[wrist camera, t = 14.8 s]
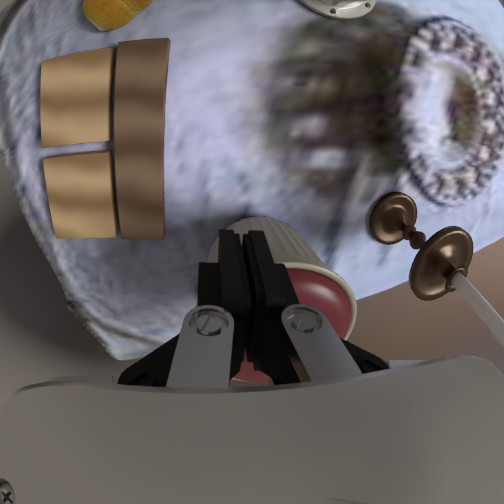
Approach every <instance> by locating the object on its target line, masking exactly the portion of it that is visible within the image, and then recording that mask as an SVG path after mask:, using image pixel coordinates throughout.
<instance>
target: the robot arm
mask: <svg viewBox="0 0 504 504" xmlns="http://www.w3.org/2000/svg"><path fill="white" fill-rule="evenodd" d="M299 1H301V2H302V3H303V4H304V5H305V6H307V7H308V8H310V9H311V10H313V11H315V12H317V13H319V14H321V15H323V16H327V17H330V18H334V19H354V18H358V17H360V16H363V15H365V14H366V13H368V12H369V11H371V10H372V9H373V7H374V5H375V4H376V1H377V0H299ZM499 2H500V3H501V4H502V6H503V7H504V0H499ZM330 11H331V12H332V13H331V12H330ZM245 350H246V357H247V362H253V368H254V371H261V372H263V373H264V374H266V375H267V382H268V385H269V386H253V387H232V388H230V387H229V382H230V380H231V379H232V378H233V377H234V376H235V375H236V374H238V373H239V372H240V369H241V363H243V361H244V354H245ZM0 504H504V376H503V375H502V374H501V372H500V371H499V370H498V369H497V368H496V366H495V365H494V364H492V363H491V362H490V361H488V360H485V359H483V358H479V357H472V356H450V357H443V358H438V359H433V360H424V361H423V360H421V361H420V360H416V361H415V360H414V361H413V360H388V361H387V363H385V362H384V361H383V360H382V359H380V358H379V357H377V356H375V355H373V354H371V353H369V352H367V351H365V350H363V349H361V348H359V347H357V346H355V345H353V344H351V343H350V342H348V341H346V340H344V339H342V338H340V337H339V336H338V335H337V333H336V332H335V330H334V328H333V327H332V325H331V324H330V322H329V321H328V319H327V318H326V316H325V315H324V314H323V313H322V312H321V311H320V310H318V309H317V308H315V307H313V306H310V305H306V304H300V303H299V300H298V298H297V295H296V292H295V290H294V287H293V285H292V282H291V279H290V277H289V274H288V272H287V269H286V266H285V265H284V264H283V263H274V260H273V257H272V254H271V251H270V248H269V245H268V242H267V240H266V237H265V234H264V231H263V230H249V231H248V234H243V238H242V245H241V240H240V235H239V233H234V230H227V229H219V245H218V263H216V262H199V274H198V305H197V307H196V308H194V309H191V310H190V311H189V312H188V313H187V314H186V316H185V318H184V321H183V324H182V328H181V332H180V334H178V335H177V336H175V337H174V338H172V339H171V340H169V341H168V342H166V343H165V344H163V345H162V346H160V347H159V348H157V349H156V350H154V351H153V352H151V353H150V354H148V355H147V356H145V357H144V358H142V359H141V360H139V361H138V362H136V363H134V364H133V365H131V366H130V367H128V368H127V369H126V370H125V371H124V372H122V373H121V375H116V376H113V375H112V373H101V374H90V375H77V376H61V377H54V378H51V379H49V380H48V381H46V382H42V383H36V384H31V385H27V386H24V387H21V388H19V389H16V390H14V391H13V392H11V393H10V394H9V395H8V396H7V397H6V398H5V399H4V400H3V402H2V403H1V404H0Z"/></svg>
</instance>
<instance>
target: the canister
mask: <svg viewBox="0 0 504 504" xmlns="http://www.w3.org/2000/svg"><path fill="white" fill-rule="evenodd" d="M226 229H227V230H234V233H239V235H240V240H241V245H242V238H243V234H248V231H249V230H263V231H264V234H265V237H266V240H267V242H268V245H269V248H270V251H271V254H272V257H273V260H274V263H283V264H284V265H285V266H286V269H287V272H288V274H289V277H290V279H291V282H292V285H293V287H294V290H295V292H296V295H297V298H298V300H299V303H300V304H306V305H310V306H313V307H315V308H317V309H318V310H320V311H321V312H322V313H323V314H324V315H325V316H326V318H327V319H328V321H329V322H330V324H331V325H332V327H333V328H334V330H335V332H336V333H337V335H338V336H339V337H340V338H342V339H344V340H347V338H348V336H349V335H350V333H351V331H352V329H353V326H354V323H355V320H356V313H357V305H356V300H355V296H354V294H353V292H352V290H351V288H350V286H349V285H348V284H347V282H346V281H345V280H344V279H343V278H342V277H340V276H339V275H338V274H336V273H335V272H333V271H331V270H329V269H328V268H327V267H326V266H325V264H324V263H323V262H322V261H321V259H320V258H319V257H318V256H317V255H316V253H315V252H314V251H313V250H312V249H311V247H310V246H309V245H308V244H307V243H306V242H305V241H304V239H303V238H302V237H301V236H300V235H299V234H298V233H297V232H296V231H295V230H294V229H292V228H291V227H290V226H289V225H288V224H285V223H283V222H282V221H280V220H276V219H274V218H268V217H265V216H264V217H259V216H256V217H249V218H246V219H241V220H240V221H237V222H234V223H233V224H232V225H230V226H228V227H227V228H226ZM218 245H219V236H217V238H216V240H215V242H214V243H213V244H212V247H211V250H210V252H209V254H208V258H207V262H216V263H218ZM197 305H198V303H197ZM197 305H196V306H195V308H196V307H197ZM232 379H235V380H240V381H249V382H267V375H266V374H264V373H263V372H261V371H254V368H253V362H247V357H246V350H245V354H244V361H243V363H241V369H240V372H239V373H238V374H236V375H235V376H234V377H233V378H232Z"/></svg>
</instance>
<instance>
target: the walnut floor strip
mask: <svg viewBox="0 0 504 504" xmlns="http://www.w3.org/2000/svg"><path fill="white" fill-rule="evenodd" d="M169 50H170V40H169V38H158V39H143V40H132V41H123V42H118V48H117V60H116V74H115V94H114V152H115V173H116V188H117V200H118V211H119V220H120V229H121V237H122V239H164V236H165V209H164V127H165V103H166V86H167V72H168V60H169Z"/></svg>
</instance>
